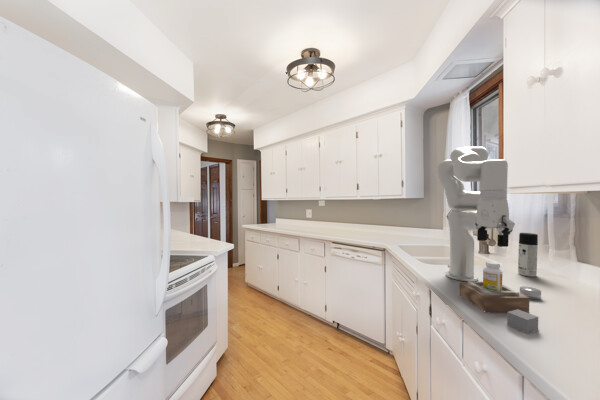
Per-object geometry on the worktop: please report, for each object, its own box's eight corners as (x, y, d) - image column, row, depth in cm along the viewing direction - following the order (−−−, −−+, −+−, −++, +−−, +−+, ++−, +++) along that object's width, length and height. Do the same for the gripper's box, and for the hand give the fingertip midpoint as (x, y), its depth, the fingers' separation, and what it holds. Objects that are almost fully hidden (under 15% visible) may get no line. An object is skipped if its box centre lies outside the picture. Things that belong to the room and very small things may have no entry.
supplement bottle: (493, 286, 91) (494, 260, 91) (506, 292, 86) (506, 264, 86) (479, 287, 91) (479, 260, 91) (490, 292, 86) (491, 264, 86)
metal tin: (515, 294, 98) (515, 286, 98) (530, 294, 98) (531, 286, 98) (529, 300, 92) (529, 292, 92) (545, 300, 92) (546, 292, 92)
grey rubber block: (507, 325, 74) (507, 311, 74) (517, 322, 76) (518, 309, 76) (527, 334, 70) (527, 319, 70) (538, 330, 71) (538, 316, 71)
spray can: (518, 271, 125) (519, 232, 125) (537, 274, 120) (538, 233, 120) (517, 274, 120) (518, 233, 120) (536, 278, 116) (537, 235, 115)
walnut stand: (459, 295, 96) (459, 279, 96) (496, 295, 96) (496, 280, 96) (485, 312, 82) (486, 294, 82) (529, 312, 82) (529, 294, 82)
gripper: (466, 194, 97) (465, 238, 98) (501, 195, 80) (500, 249, 80) (485, 194, 97) (484, 238, 97) (525, 195, 79) (524, 249, 80)
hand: (491, 243), depth 89 cm, fingers open, 9 cm apart
